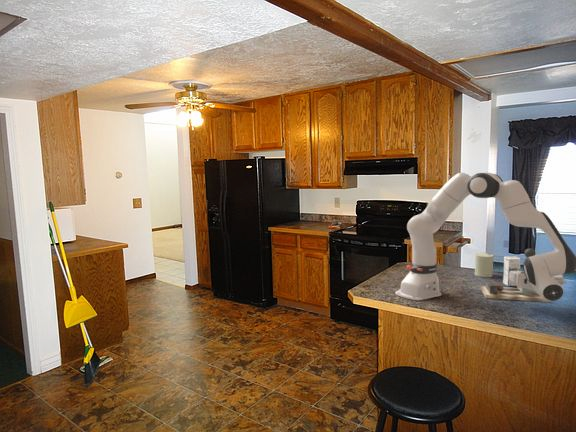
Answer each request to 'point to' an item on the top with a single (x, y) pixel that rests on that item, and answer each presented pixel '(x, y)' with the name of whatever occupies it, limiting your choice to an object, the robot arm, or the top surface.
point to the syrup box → (510, 268)
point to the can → (484, 265)
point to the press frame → (508, 293)
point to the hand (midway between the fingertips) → (530, 272)
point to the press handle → (527, 253)
